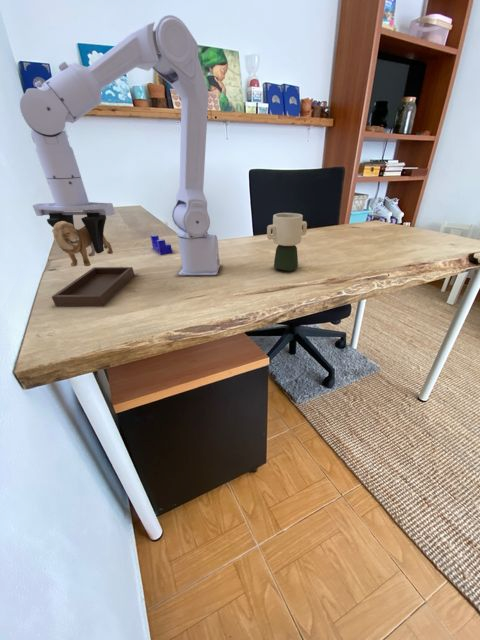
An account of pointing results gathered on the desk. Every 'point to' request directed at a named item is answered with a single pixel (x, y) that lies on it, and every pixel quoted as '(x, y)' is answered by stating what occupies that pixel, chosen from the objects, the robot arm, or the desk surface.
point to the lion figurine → (76, 241)
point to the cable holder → (160, 245)
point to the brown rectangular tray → (94, 287)
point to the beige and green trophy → (286, 239)
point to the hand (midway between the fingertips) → (88, 252)
